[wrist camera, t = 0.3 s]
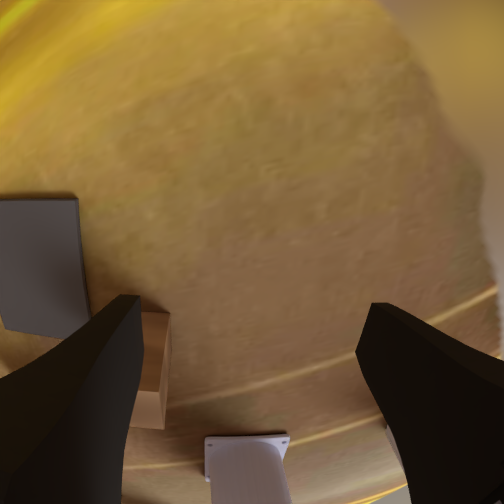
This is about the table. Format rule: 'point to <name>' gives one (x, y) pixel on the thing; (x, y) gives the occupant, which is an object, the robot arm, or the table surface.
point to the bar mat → (42, 267)
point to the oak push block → (153, 372)
